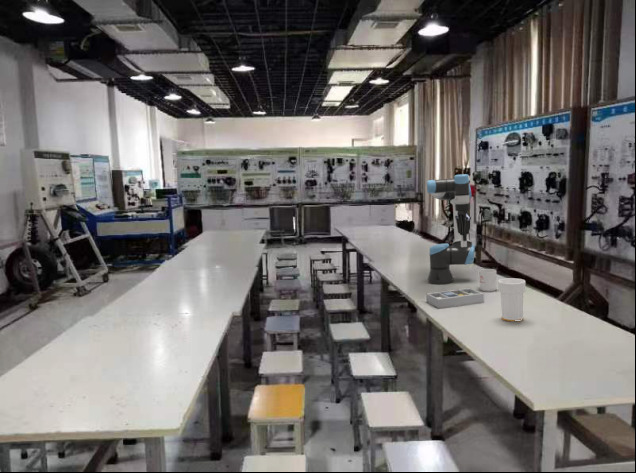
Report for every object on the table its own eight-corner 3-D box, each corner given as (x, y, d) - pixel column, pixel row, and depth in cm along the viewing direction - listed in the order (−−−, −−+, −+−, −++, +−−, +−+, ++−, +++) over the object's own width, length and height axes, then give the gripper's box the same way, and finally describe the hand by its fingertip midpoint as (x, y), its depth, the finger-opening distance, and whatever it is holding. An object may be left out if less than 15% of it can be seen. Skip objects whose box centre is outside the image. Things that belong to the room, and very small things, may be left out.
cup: (512, 324, 204) (511, 285, 202) (493, 318, 215) (492, 280, 213) (532, 319, 209) (531, 281, 207) (512, 313, 219) (511, 276, 217)
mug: (500, 290, 263) (499, 270, 261) (488, 292, 259) (487, 272, 258) (484, 286, 273) (483, 267, 272) (472, 288, 270) (471, 269, 268)
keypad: (426, 302, 249) (426, 293, 249) (469, 296, 254) (469, 287, 254) (438, 308, 236) (438, 299, 235) (483, 302, 241) (483, 293, 240)
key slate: (443, 297, 246) (443, 293, 246) (451, 296, 247) (450, 292, 246) (447, 299, 242) (447, 295, 241) (455, 298, 242) (455, 293, 242)
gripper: (450, 203, 259) (451, 246, 262) (462, 204, 246) (463, 248, 249) (462, 202, 260) (464, 244, 263) (475, 203, 248) (476, 247, 251)
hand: (463, 246), depth 256 cm, fingers closed
